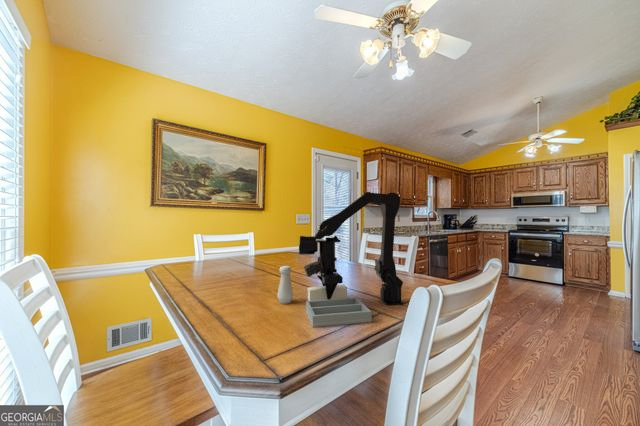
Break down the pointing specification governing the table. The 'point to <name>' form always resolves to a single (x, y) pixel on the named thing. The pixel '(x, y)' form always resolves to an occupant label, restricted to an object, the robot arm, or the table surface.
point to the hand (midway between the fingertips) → (327, 297)
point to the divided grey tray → (337, 312)
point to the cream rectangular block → (320, 293)
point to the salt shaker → (285, 286)
